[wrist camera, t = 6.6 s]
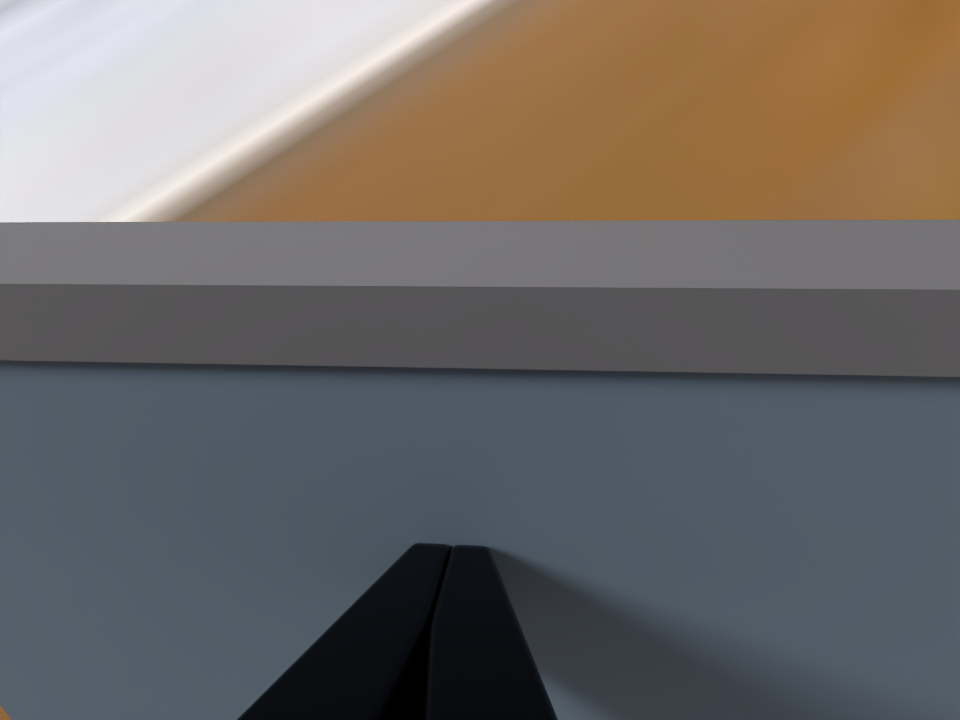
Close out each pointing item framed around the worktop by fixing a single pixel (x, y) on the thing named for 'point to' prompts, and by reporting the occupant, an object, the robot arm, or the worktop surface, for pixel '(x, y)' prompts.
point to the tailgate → (485, 456)
